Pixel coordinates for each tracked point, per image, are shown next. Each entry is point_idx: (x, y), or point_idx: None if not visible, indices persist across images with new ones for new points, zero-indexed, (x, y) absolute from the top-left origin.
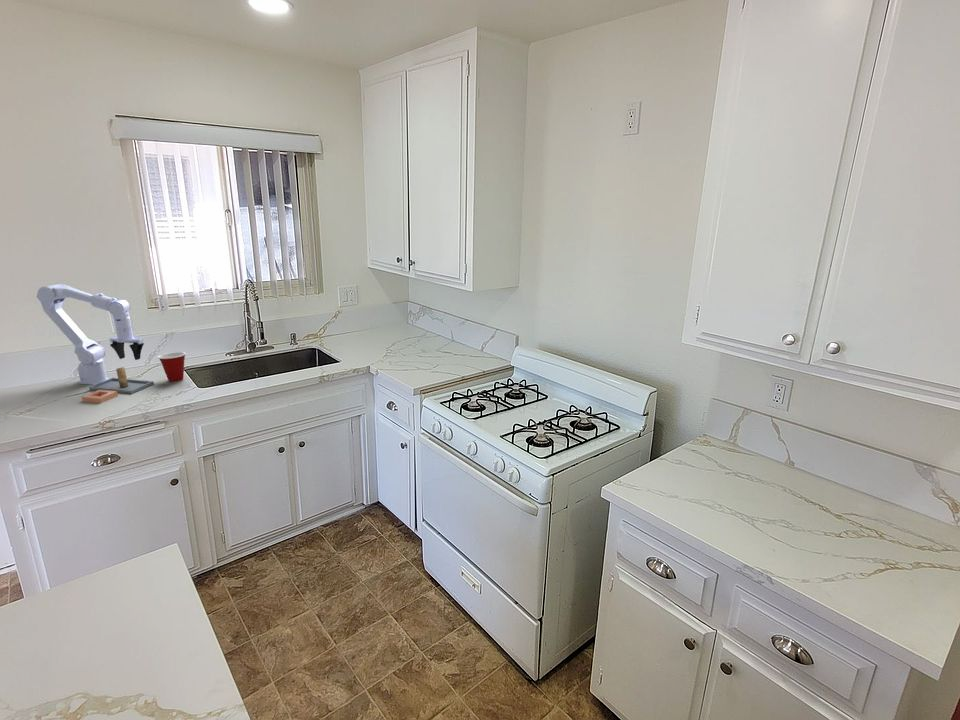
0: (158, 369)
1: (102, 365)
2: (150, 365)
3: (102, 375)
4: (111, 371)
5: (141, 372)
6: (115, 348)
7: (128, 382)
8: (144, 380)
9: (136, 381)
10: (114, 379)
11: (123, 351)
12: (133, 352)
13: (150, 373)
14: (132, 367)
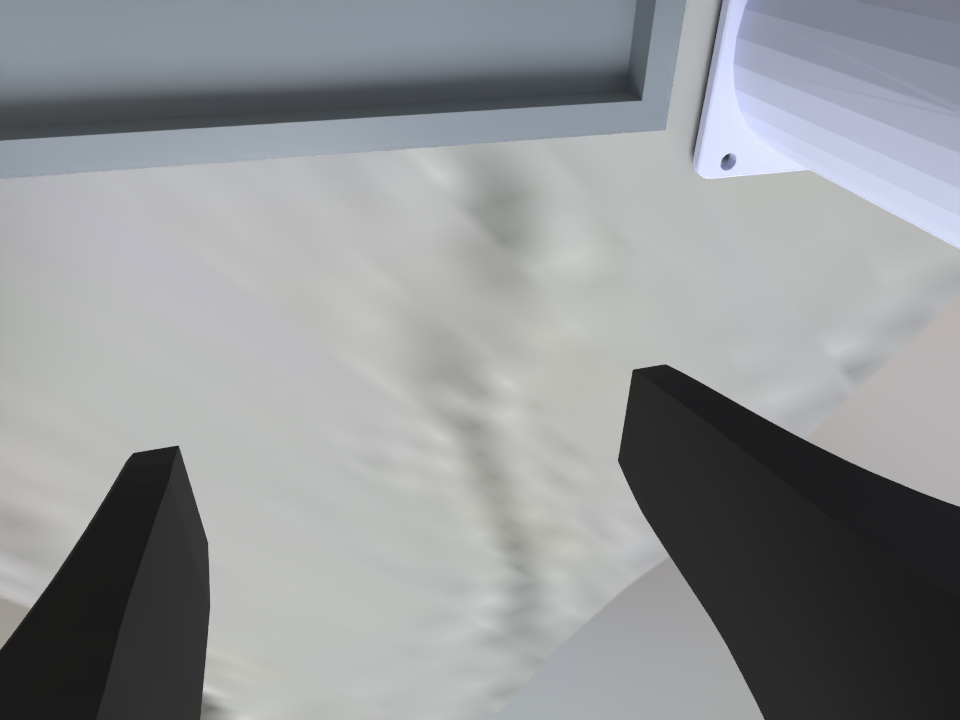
0: (427, 578)
1: (928, 132)
2: (591, 602)
3: (806, 39)
4: (851, 369)
5: (530, 463)
6: (924, 548)
7: (312, 77)
8: (9, 174)
9: (170, 125)
10: (609, 98)
11: (704, 585)
12: (82, 645)
13: (405, 481)
14: None
